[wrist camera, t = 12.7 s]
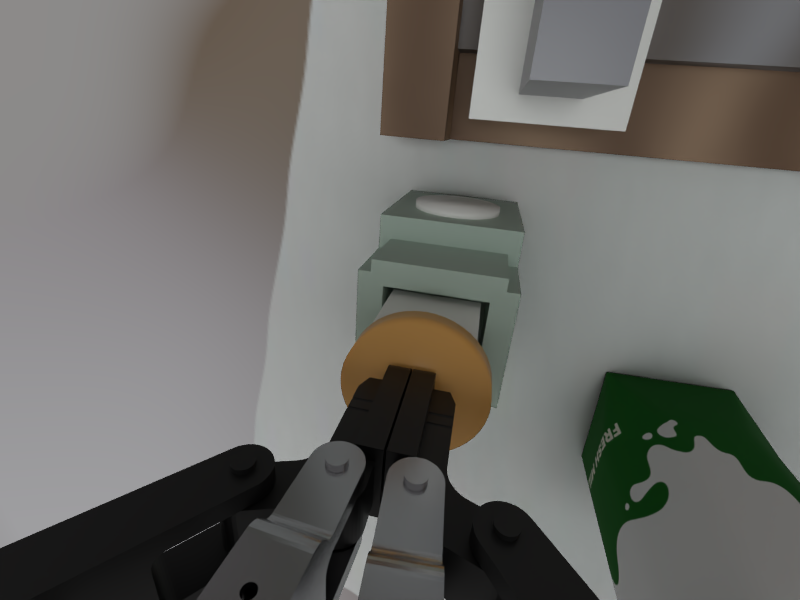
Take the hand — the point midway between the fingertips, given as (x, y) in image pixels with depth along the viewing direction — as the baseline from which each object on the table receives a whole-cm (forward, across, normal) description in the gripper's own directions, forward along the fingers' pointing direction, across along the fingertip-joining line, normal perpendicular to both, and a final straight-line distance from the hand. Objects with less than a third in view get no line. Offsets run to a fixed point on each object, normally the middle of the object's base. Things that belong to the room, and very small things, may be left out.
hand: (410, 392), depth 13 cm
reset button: (+4, 0, 0) cm, 4 cm away
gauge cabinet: (+13, 0, 0) cm, 13 cm away
